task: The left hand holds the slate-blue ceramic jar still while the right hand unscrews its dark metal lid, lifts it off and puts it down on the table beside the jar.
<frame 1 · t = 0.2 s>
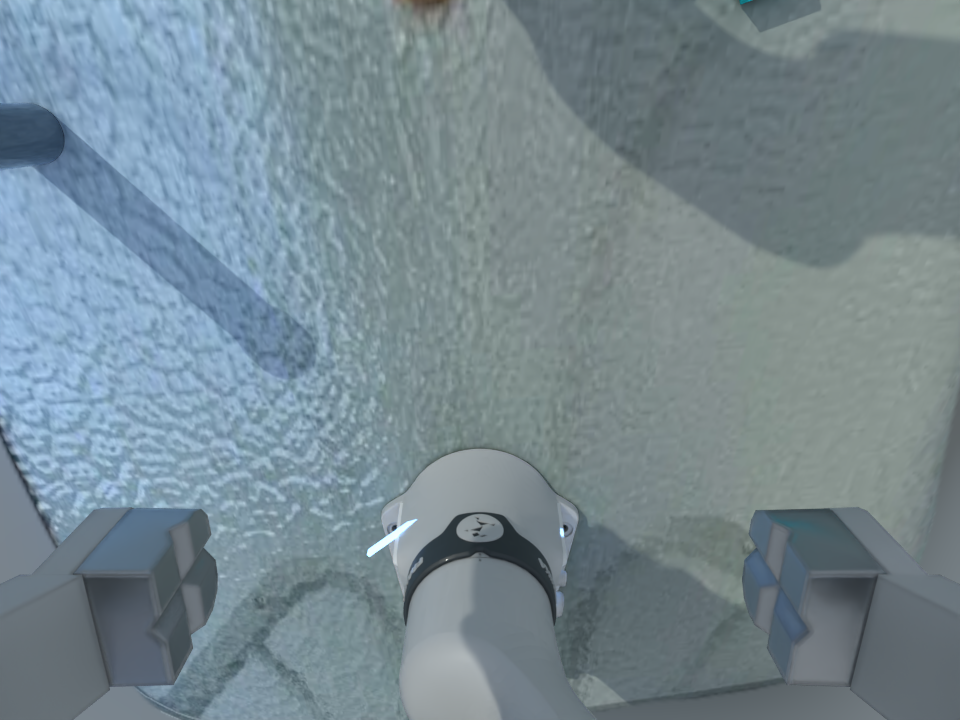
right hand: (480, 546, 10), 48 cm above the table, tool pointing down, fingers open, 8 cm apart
jar: (34, 134, 54), on the table
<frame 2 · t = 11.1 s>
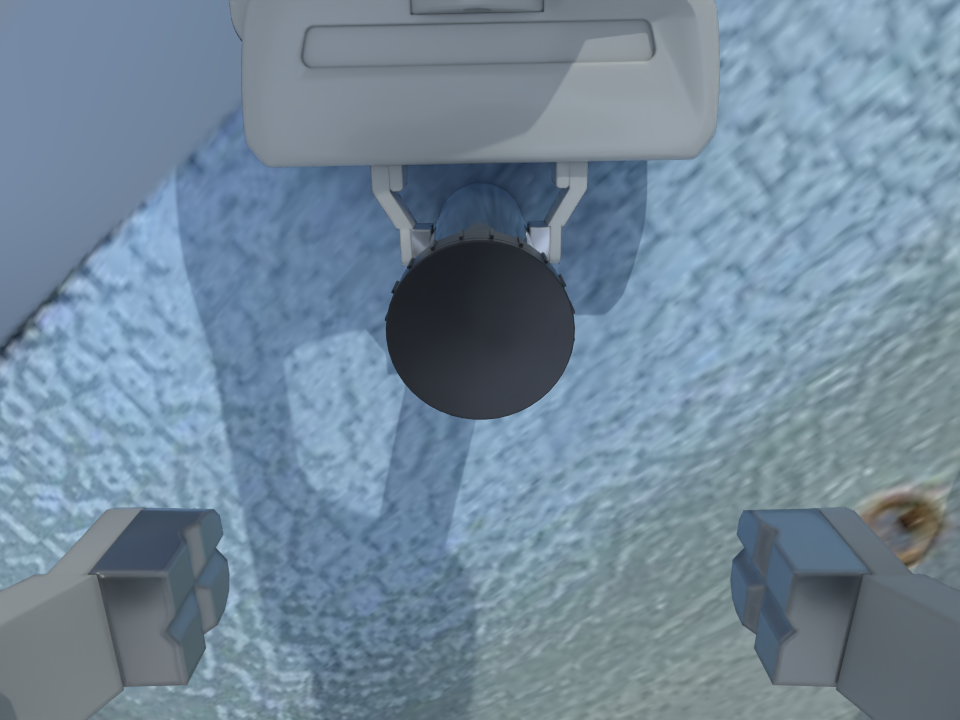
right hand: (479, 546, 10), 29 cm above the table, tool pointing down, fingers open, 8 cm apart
lid: (480, 330, 20), point 18 cm above the table, screwed on, not yet turned
jar: (480, 225, 37), on the table, touching left hand
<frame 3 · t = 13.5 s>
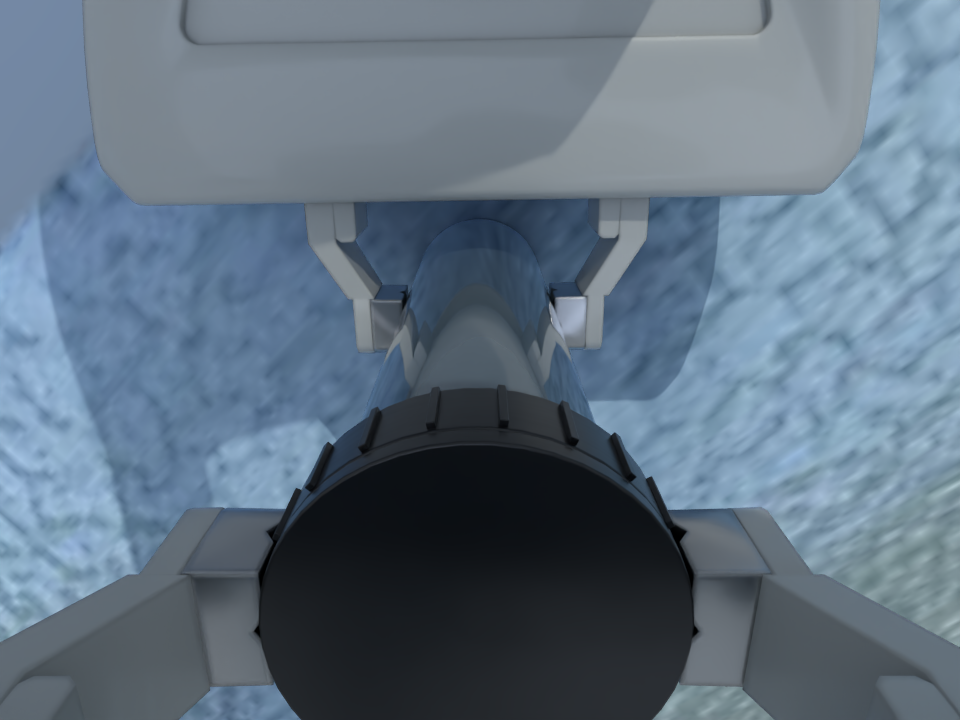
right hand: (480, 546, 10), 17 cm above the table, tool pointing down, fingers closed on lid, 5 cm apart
lid: (476, 617, 9), point 18 cm above the table, screwed on, not yet turned, touching right hand
jar: (479, 279, 26), on the table, touching left hand
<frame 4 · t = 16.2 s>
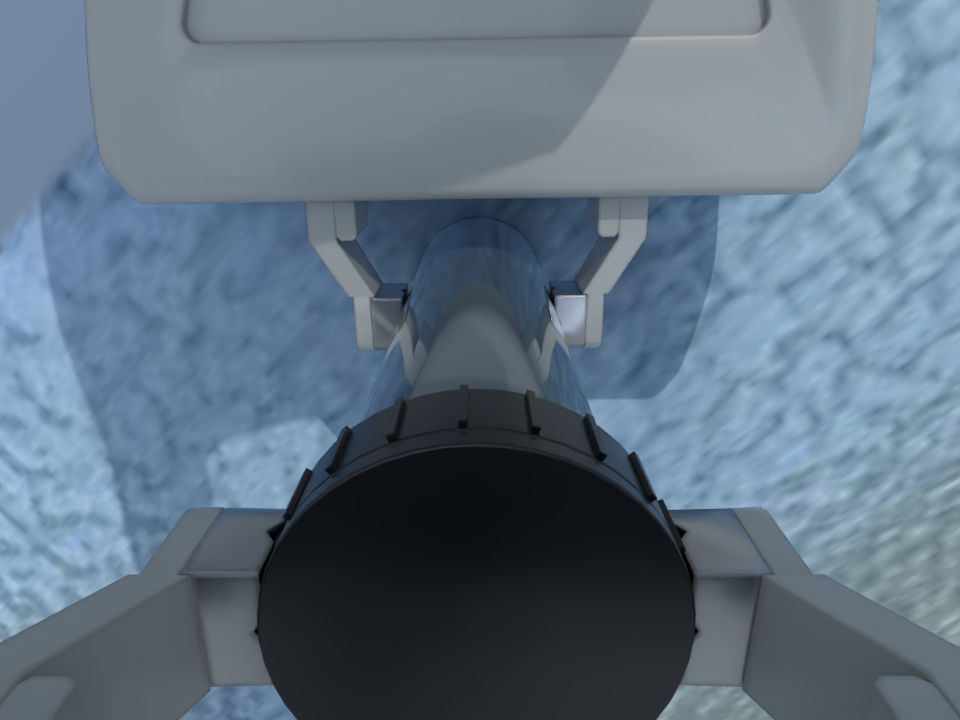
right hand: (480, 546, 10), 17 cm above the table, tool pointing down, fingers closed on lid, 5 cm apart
lid: (476, 619, 9), point 18 cm above the table, turned 64° so far, risen 0.1 cm, still on its thread, touching right hand
jar: (479, 277, 26), on the table, touching left hand
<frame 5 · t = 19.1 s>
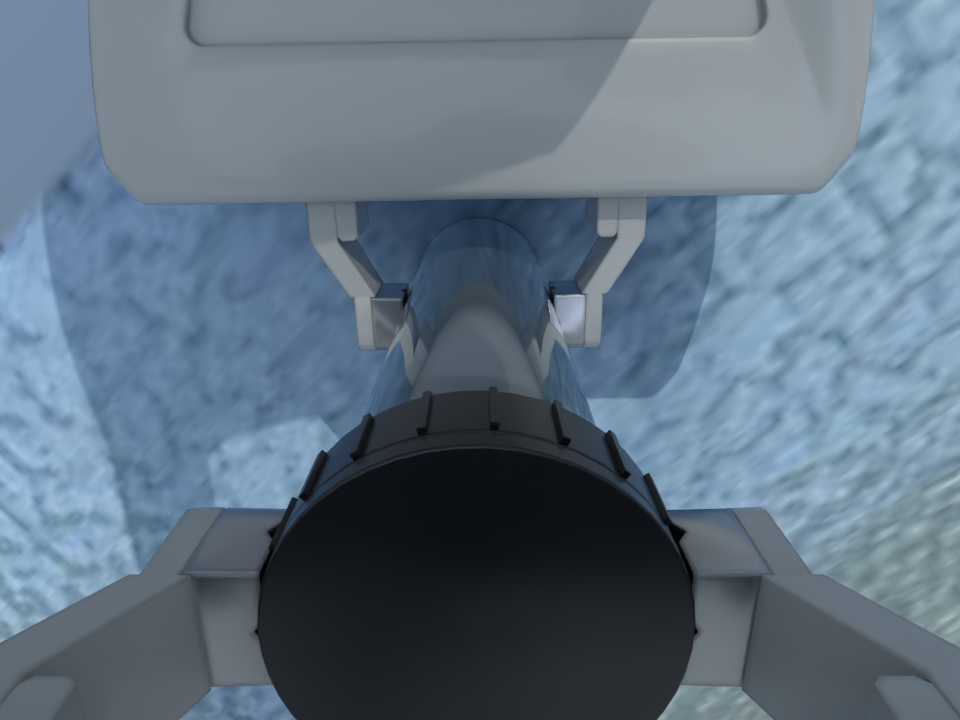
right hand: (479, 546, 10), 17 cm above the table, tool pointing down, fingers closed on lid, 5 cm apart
lid: (476, 620, 9), point 19 cm above the table, turned 128° so far, risen 0.3 cm, still on its thread, touching right hand
jar: (479, 277, 26), on the table, touching left hand
when the right hand's fingers open (2 cm above the table, at t = 26.7 s): lid drops 2 cm, point 1 cm above the table.
when the left hand's fingers open (5 cm above the table, at t = 27.8 s): jar stays where it is, on the table.
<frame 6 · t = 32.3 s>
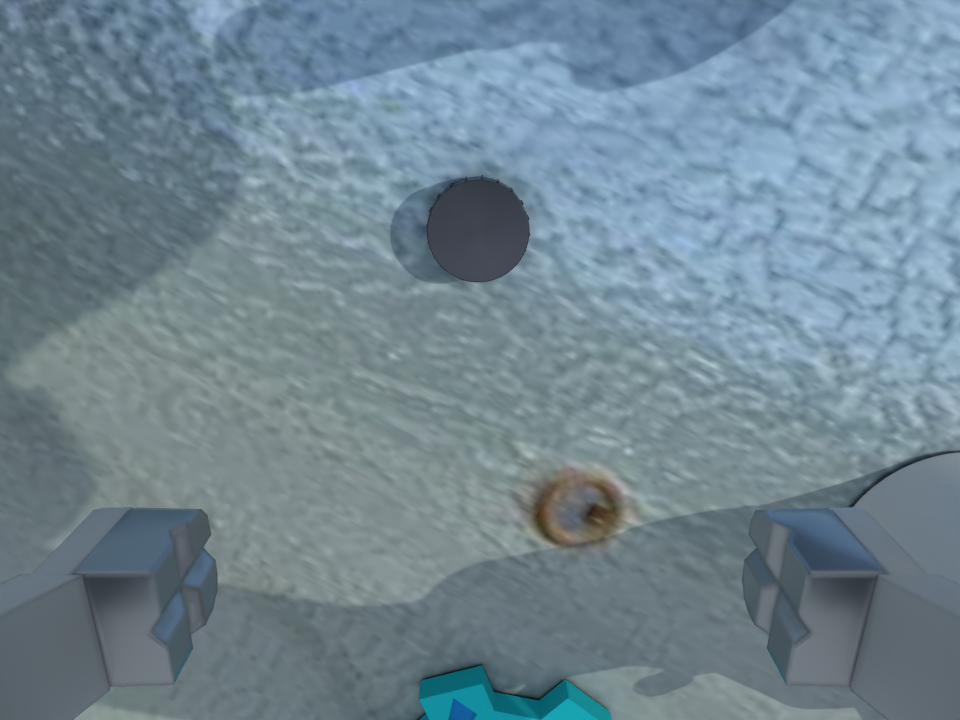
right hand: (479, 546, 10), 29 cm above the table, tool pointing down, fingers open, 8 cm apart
lid: (478, 231, 37), point 1 cm above the table, off its thread
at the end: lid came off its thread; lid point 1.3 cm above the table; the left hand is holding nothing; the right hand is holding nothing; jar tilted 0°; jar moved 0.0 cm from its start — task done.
